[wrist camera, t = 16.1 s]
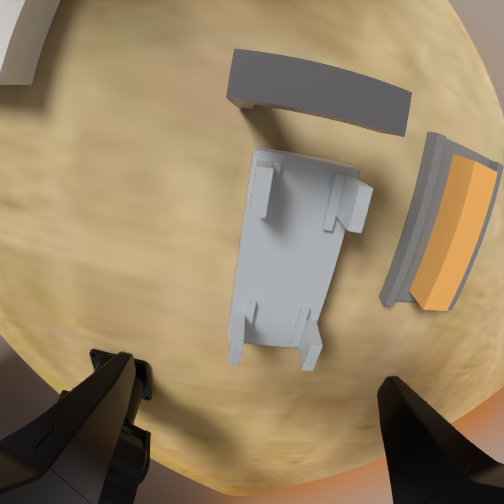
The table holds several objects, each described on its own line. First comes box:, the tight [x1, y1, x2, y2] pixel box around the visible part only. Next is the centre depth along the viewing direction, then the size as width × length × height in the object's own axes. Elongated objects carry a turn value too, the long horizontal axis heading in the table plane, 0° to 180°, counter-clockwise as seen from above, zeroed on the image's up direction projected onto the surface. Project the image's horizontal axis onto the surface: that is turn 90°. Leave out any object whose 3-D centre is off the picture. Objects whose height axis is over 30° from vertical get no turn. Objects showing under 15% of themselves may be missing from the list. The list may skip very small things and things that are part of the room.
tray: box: [379, 132, 503, 310], centre depth 20 cm, size 14×8×1 cm, turn 172°
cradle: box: [227, 146, 373, 371], centre depth 19 cm, size 14×6×5 cm, turn 172°
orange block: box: [409, 154, 498, 311], centre depth 19 cm, size 12×3×3 cm, turn 171°
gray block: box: [226, 49, 412, 137], centre depth 13 cm, size 2×7×8 cm, turn 81°
